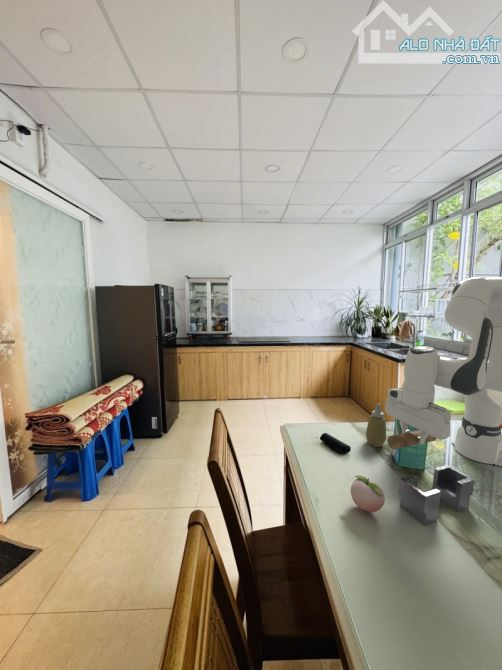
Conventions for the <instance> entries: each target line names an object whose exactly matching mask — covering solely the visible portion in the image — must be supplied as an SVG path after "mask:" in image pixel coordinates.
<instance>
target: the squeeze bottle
mask: <svg viewBox="0 0 502 670" xmlns="http://www.w3.org/2000/svg"><path fill="white" fill-rule="evenodd" d="M365 436H366V440H367V443H368V445H370V446H371V447H375V448H381V447H383V446H384V444H385V442H386V440H387V419H386V418H385V413H384V412H383V411H382V408H381V403H377V404H376V406H375V410H372V411H371V414H370V415H369V416H368V422H367V426H366V432H365Z"/></svg>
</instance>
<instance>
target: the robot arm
mask: <svg viewBox="0 0 502 670" xmlns="http://www.w3.org/2000/svg"><path fill="white" fill-rule="evenodd" d="M452 290H453V291H452V297H451V298H450V300H449V302H448V304H447V305H446V308H445V310H444V318H445V320H446V322H447V324H448V325H449V326H450V327H452V328H453V329H454V330H456V331H458V332H460V333H461V334H466V335H467V336H468V337H471V338H472V339H471V343H470V349H469V352H468V357H458V358H451V357H446V356H442V355H439V354H438V351H437V349H436V348H434V347H431V346H430V345H429V346H428V345H420V346H419V345H417V346H416V345H415V346H413V347H412V346H411V347H410V348H409V349H408V351H407V353H406V357H405V361H404V366H403V368H404V369H403V377H404V378H403V379H404V380H403V383H402V386H401V387H397V388H391V389H388V390H387V395H388V396H387V397H386V402H385V405H384V406H385V407H384V409H385V413H386V415H388V416H389V417H392V418H393V419H395V418H396V419H398V420H400V422H399V423H400V426H401V428H402V433H407V432H410V430H408V429H407V425H406V424H408V425H410V426H412V427H414V428H416V429H419V430H421V434H422V436H420V437H417V442H418V443H420V444H424V443H425V439H426V438H427V437H428V436H429V435H431V436H433V437H435V438H437V439H436V440H439V441H440V440H441V441H442V440H446V439H448V438H450V436H451V419H452V414H451V413H450V412H449V410H448V409H447V408H446V407H444V406H440V405H438V404H435V403H434V402H435V395H436V388H435V386H437V387H441V388H444V389H449V390H451V391H453V392H456V393H459V394H462V395H464V412H463V413H464V415H463V416H462V419H461V426H459V427H458V428H457V431H456V436H455V439H454V440H452V441H451V444H452V445H453V447H454V450H455V451H456V452H457V453H458V454H460V455H461V456H463V457H465V458H467V459H469V460H473V461H474V462H479V463H481V464H482V463H483V464H488V465H493V464H495V466H497V465H498V466H497V467H501V466H502V423H501V416H502V406H501V403H500V402H499V401H498V400H497V399H495V398H493V397H492V396H491V394H490V393H489V391H488V390H491V391H495V392H498V393H502V276H490V277H481V276H478V277H477V276H475V277H470V278H467V279H464V280H460V281H459V282H457V283H456V285H454V288H453V289H452Z"/></svg>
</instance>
